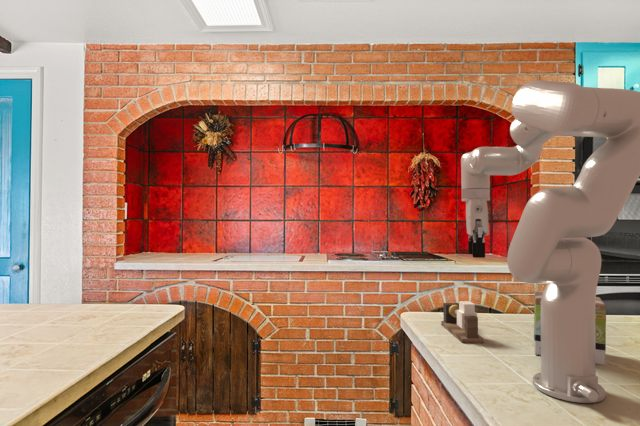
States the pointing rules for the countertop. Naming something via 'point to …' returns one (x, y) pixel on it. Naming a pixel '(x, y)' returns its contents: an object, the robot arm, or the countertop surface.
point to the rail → (461, 334)
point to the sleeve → (465, 312)
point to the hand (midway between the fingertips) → (476, 255)
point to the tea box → (599, 328)
